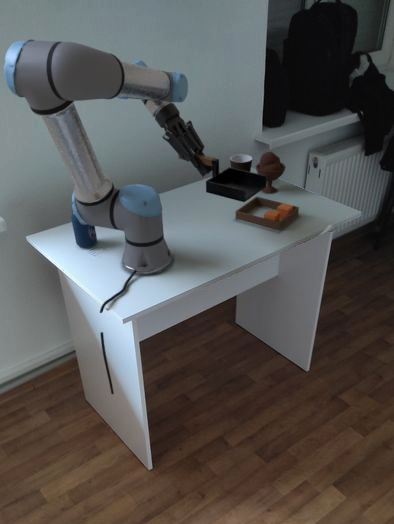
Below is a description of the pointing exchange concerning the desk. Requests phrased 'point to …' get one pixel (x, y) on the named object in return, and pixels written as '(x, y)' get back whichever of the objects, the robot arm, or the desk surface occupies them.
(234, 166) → the coffee mug
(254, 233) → the desk surface
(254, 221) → the tray
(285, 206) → the block
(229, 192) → the pan
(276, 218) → the block
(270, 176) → the ice cream bowl
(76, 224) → the soda can
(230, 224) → the desk surface
